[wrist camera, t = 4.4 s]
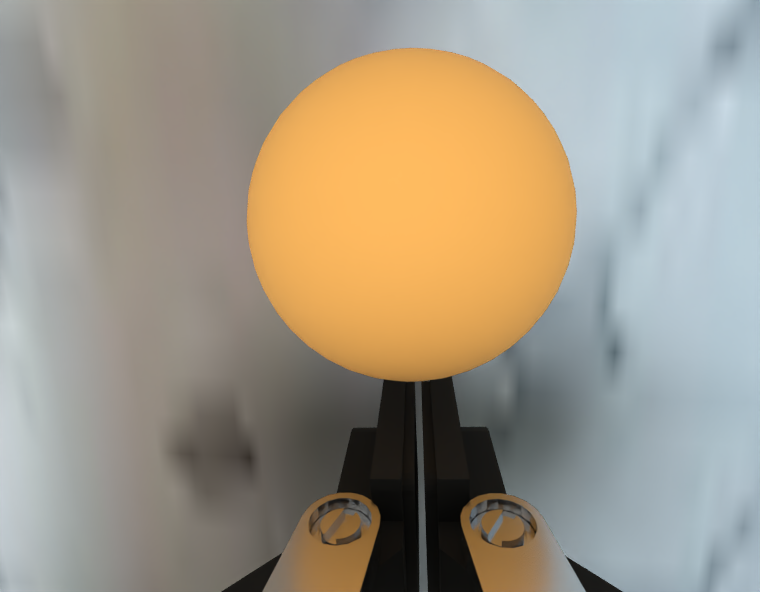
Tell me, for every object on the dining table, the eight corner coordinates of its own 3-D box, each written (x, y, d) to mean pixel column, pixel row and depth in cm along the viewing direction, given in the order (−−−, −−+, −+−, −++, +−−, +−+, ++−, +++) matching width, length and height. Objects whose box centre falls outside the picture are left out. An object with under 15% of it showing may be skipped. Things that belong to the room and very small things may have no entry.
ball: (148, 331, 5) (221, -41, 7) (277, 398, 11) (296, 180, 13) (697, 335, 5) (611, -47, 7) (534, 402, 11) (513, 180, 13)
